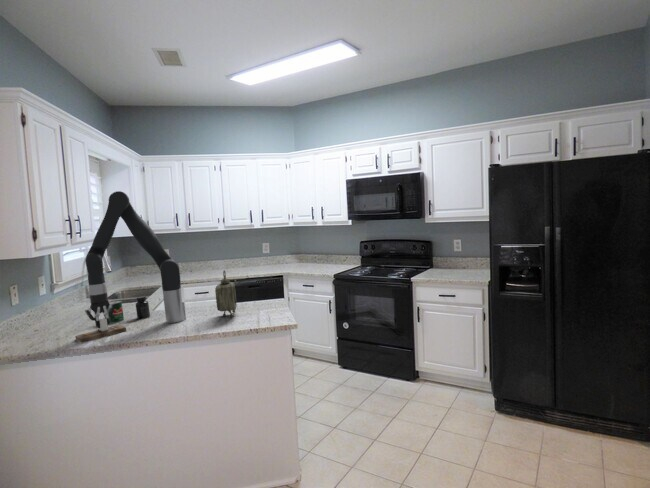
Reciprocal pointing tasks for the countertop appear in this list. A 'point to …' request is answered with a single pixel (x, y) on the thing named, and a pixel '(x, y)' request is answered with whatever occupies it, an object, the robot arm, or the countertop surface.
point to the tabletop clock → (226, 296)
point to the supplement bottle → (142, 308)
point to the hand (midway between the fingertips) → (102, 326)
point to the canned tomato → (116, 312)
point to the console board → (100, 333)
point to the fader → (103, 325)
